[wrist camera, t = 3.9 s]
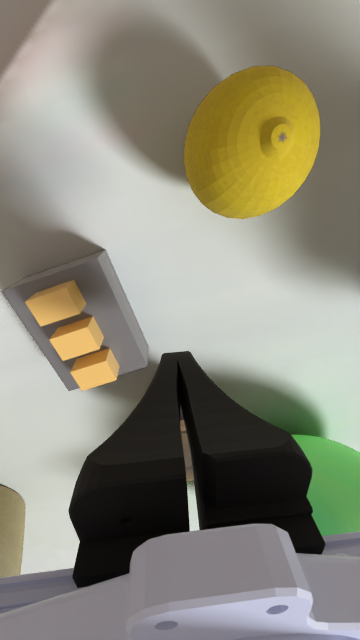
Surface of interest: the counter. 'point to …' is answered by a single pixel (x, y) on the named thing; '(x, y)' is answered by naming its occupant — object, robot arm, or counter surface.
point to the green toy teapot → (333, 484)
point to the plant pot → (11, 532)
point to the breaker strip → (99, 306)
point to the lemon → (252, 142)
